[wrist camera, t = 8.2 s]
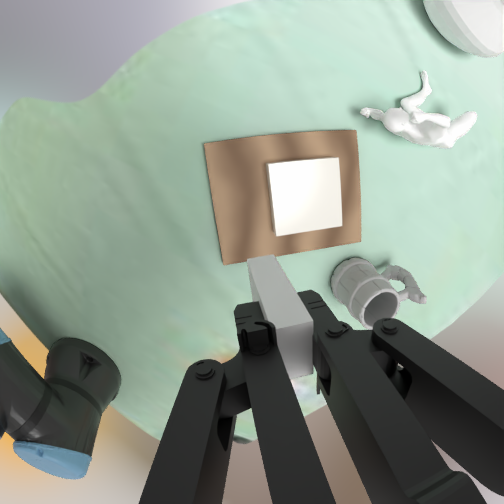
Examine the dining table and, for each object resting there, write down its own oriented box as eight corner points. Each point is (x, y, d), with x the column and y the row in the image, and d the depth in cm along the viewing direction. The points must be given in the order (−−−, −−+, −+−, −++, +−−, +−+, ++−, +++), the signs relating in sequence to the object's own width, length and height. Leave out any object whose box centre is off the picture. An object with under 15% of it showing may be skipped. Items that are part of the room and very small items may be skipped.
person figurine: (478, 69, 23) (428, 116, 22) (492, 144, 30) (447, 210, 29) (410, 66, 34) (346, 110, 33) (431, 130, 41) (377, 183, 40)
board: (223, 261, 39) (223, 265, 38) (204, 143, 33) (203, 143, 32) (357, 239, 41) (361, 241, 40) (352, 130, 35) (356, 130, 34)
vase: (440, 68, 32) (525, 57, 14) (389, -20, 25) (457, -61, 8) (484, 55, 31) (553, 51, 13) (444, -19, 24) (505, -42, 6)
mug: (324, 265, 42) (360, 306, 31) (389, 240, 42) (436, 270, 31) (332, 305, 45) (364, 351, 33) (393, 280, 45) (434, 316, 34)
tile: (276, 236, 36) (342, 226, 36) (268, 164, 32) (338, 157, 33) (273, 231, 38) (336, 222, 38) (265, 163, 34) (332, 156, 35)
